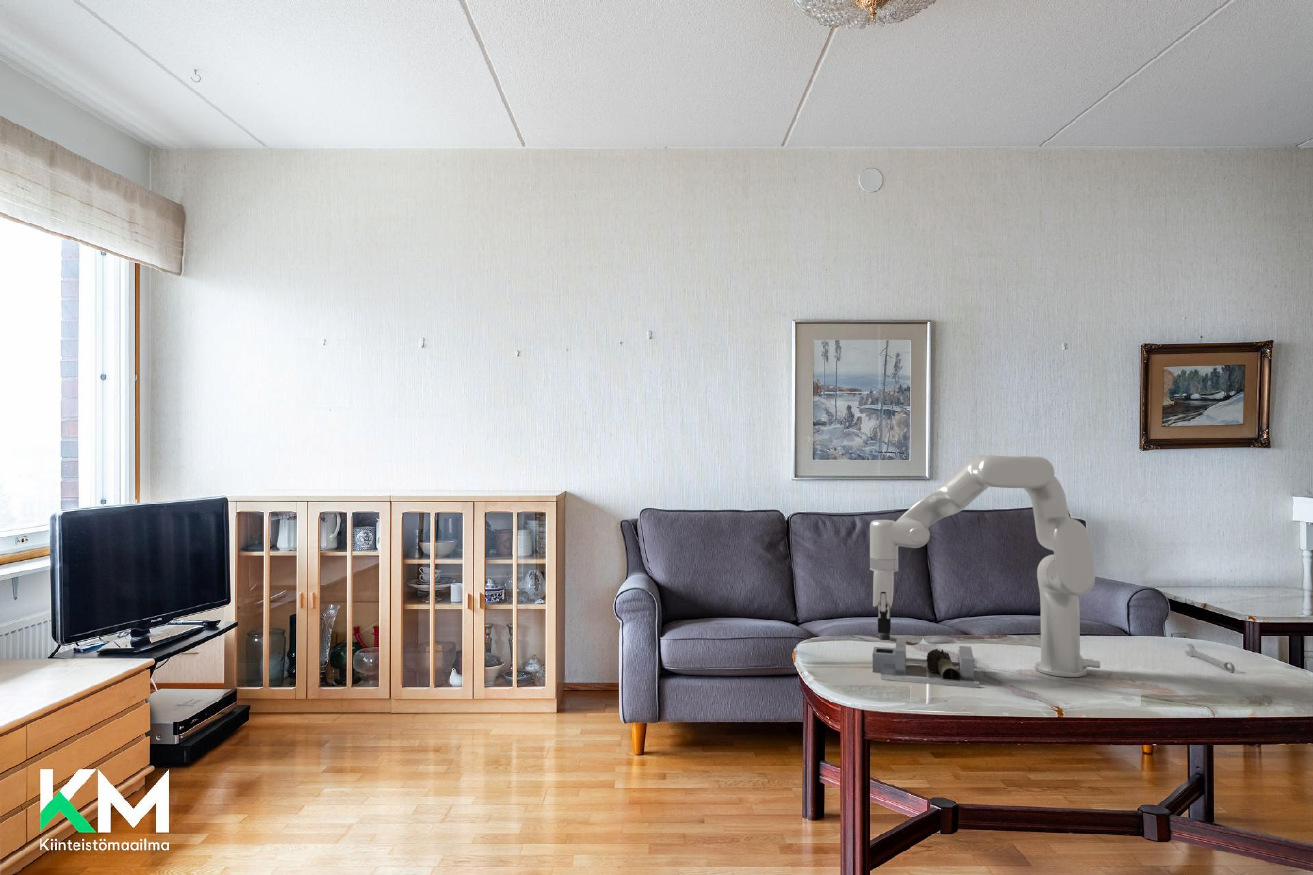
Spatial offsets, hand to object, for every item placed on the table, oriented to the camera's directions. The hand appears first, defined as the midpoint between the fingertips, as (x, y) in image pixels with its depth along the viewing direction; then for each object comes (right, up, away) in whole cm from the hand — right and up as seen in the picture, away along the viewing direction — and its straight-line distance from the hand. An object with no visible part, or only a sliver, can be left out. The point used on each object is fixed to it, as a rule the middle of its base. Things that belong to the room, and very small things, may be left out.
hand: (884, 630), depth 216 cm
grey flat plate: (+11, -10, -4) cm, 16 cm away
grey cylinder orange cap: (0, -2, 0) cm, 2 cm away
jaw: (+20, -10, -7) cm, 23 cm away
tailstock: (+1, -11, -1) cm, 11 cm away
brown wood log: (+14, -11, -5) cm, 19 cm away
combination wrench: (+94, -11, +6) cm, 94 cm away
